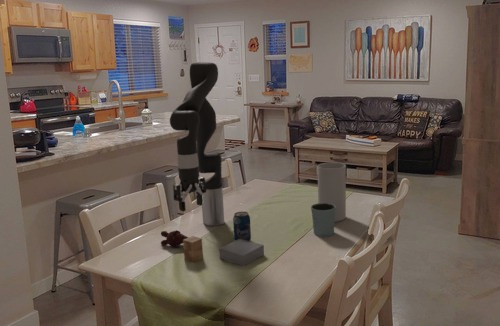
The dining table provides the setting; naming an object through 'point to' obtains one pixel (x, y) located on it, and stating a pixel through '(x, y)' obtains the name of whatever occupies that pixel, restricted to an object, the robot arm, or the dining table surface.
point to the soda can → (242, 226)
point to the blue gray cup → (323, 219)
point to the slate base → (241, 251)
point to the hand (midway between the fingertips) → (191, 207)
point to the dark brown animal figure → (173, 238)
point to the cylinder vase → (333, 187)
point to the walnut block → (193, 249)
